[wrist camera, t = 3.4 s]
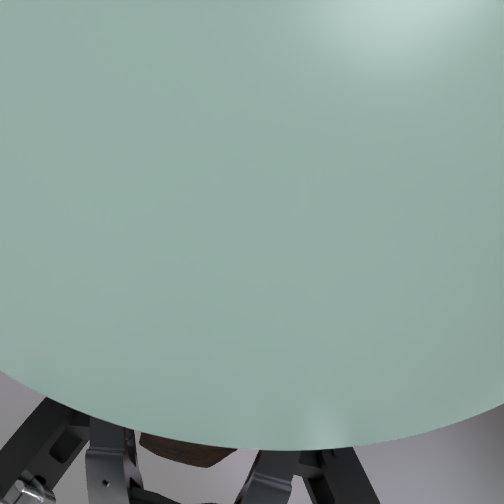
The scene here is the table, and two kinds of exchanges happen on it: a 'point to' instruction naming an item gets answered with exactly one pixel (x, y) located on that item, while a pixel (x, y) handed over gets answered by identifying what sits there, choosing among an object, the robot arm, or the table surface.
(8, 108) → the cover
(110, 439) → the robot arm
